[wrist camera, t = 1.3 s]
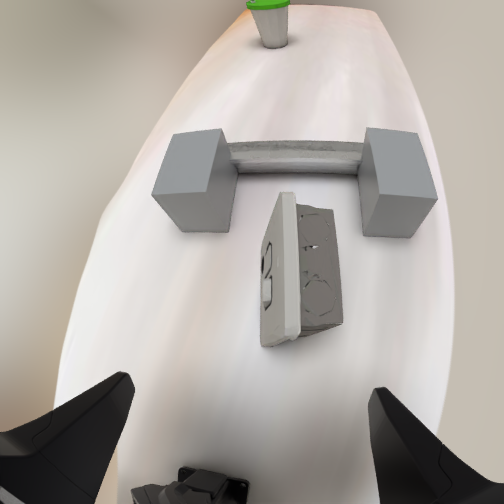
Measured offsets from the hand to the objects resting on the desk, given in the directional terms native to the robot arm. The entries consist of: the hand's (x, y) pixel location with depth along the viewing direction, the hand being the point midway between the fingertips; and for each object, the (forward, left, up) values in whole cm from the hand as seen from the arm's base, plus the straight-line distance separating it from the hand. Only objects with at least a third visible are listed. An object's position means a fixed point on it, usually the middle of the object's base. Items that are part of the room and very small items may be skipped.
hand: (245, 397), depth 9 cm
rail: (+21, 0, -14) cm, 25 cm away
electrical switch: (+7, 0, -14) cm, 16 cm away
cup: (+54, +4, -14) cm, 56 cm away
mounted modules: (+17, 0, -14) cm, 22 cm away
